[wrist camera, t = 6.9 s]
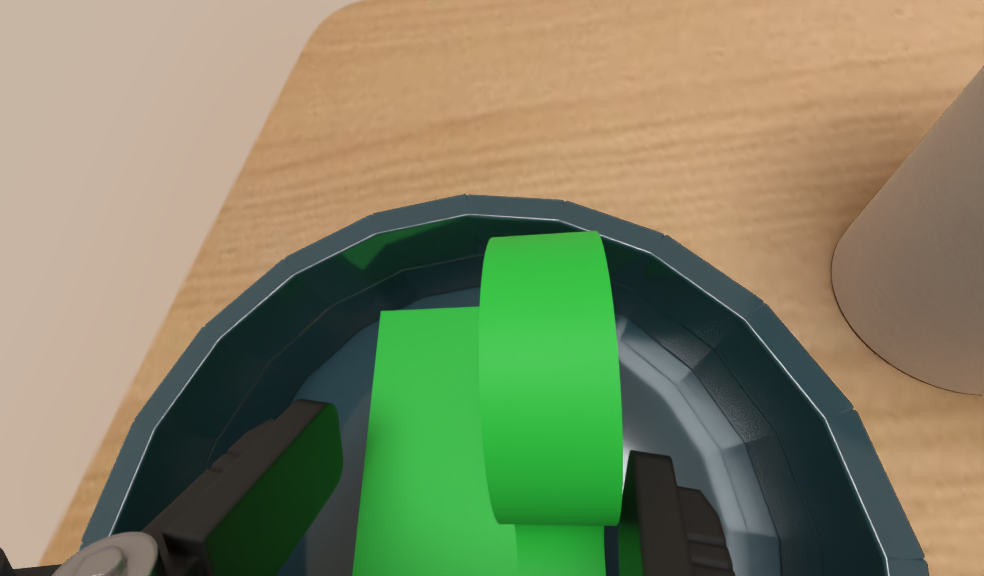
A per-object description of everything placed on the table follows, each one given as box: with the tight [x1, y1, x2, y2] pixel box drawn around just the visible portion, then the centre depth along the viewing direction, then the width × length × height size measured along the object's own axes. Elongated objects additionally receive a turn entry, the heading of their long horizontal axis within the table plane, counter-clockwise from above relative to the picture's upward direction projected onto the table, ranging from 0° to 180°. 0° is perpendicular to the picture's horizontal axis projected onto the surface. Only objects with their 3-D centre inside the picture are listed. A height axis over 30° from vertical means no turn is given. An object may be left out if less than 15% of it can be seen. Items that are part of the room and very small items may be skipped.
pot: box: [79, 194, 929, 576], centre depth 11 cm, size 16×16×5 cm
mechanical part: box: [352, 231, 623, 576], centre depth 10 cm, size 12×6×8 cm, turn 0°
